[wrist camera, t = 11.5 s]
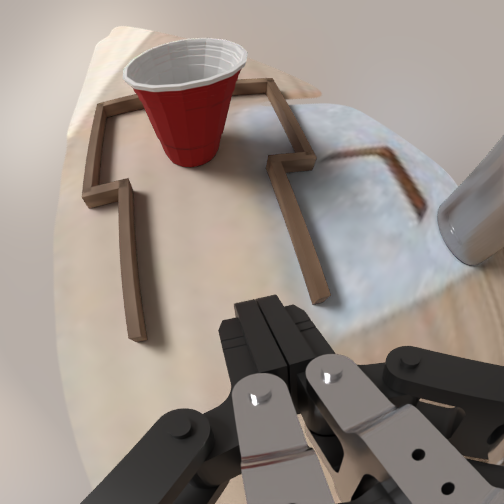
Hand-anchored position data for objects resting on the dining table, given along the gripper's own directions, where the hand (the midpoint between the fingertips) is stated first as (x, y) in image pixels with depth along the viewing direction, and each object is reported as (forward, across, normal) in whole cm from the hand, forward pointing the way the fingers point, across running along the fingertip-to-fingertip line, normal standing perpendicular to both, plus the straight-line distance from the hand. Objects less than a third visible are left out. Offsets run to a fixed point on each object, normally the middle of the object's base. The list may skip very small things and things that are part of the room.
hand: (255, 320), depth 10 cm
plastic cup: (+25, +1, -6) cm, 26 cm away
